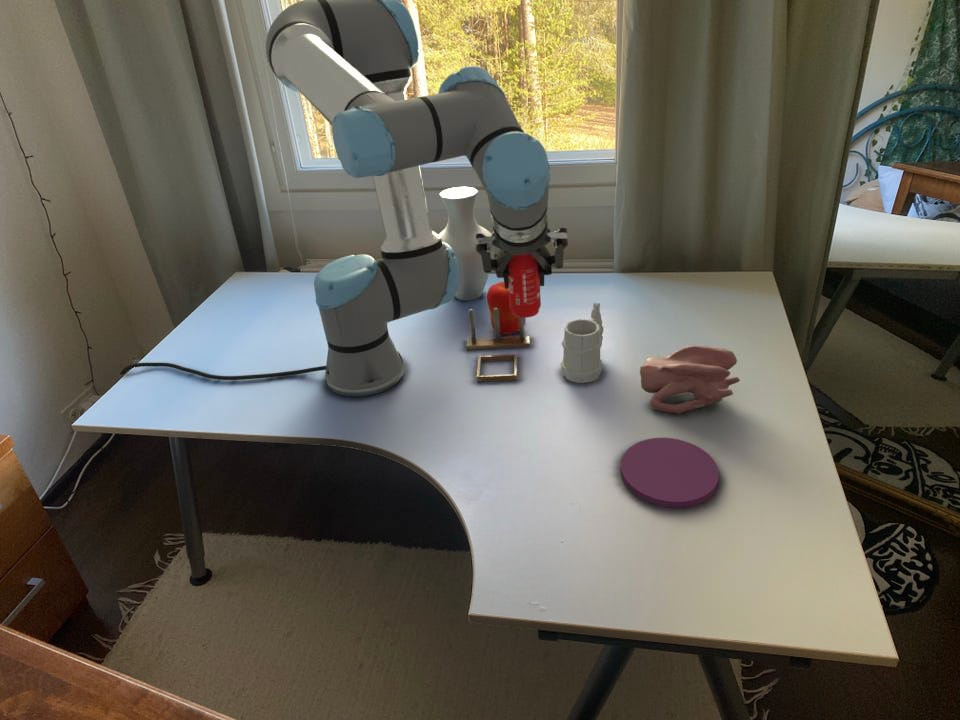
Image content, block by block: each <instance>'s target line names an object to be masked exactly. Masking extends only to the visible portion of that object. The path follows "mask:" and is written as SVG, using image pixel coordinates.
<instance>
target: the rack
mask: <svg viewBox="0 0 960 720" xmlns="http://www.w3.org/2000/svg"><path fill="white" fill-rule="evenodd" d="M493 311H494V324H495V330H494V334H495V335H494V336H495V337H485V338H484V337H483V338H482V337H481V338H477V333H476V321H475V311H474V309H472V308H470V309H469V310H468V319H469V320H468V321H469V329H470V338H467V340H466V350H484V349H485V350H486V349H487V350H488V349H509V348H528V347H529V348H530V347H531V338H530V335H529V336H528V335H526V333H525V325H524V318H521V317H519V329H520V330H519V336H504V337H501V333H500V325H499V311H498V308H494V310H493ZM492 361H494V362H496V361H513V373H510V374H485V375H481V370H482V362H492ZM476 370H477V371H476V382H494V381H495V382H496V381H497V382H498V381H516V380H518V353H515V354H491V355H489V354H488V355H478V358H477V368H476Z"/></svg>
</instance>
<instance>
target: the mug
mask: <svg viewBox="0 0 960 720" xmlns="http://www.w3.org/2000/svg"><path fill="white" fill-rule="evenodd" d="M592 306H593V308H592V309H591V314H590V318H589V319H586V318H585V319H584V318H583V319H582V318H579V319H573V320H571V321H569V322H567V323H566V324H565V326H564V331H563V338H562V340H561V345H562V349H563V355H562V360H561V363H560V368H561V370H562V374H563V377H565V379H566V380H568V381H570V382H573V383H576V384H585V383H591V382H594V381H597V380H598V379H599V377H600V376H601V374H602V373H601V372H602V371H603V367H604V363H603V361H602V359H601V348H602V345H603V340H604V336H603V334H604V326H603V320H602V314H601V310H600V309H601V303H600V302H593V305H592Z"/></svg>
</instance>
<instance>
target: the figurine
mask: <svg viewBox="0 0 960 720" xmlns="http://www.w3.org/2000/svg"><path fill="white" fill-rule="evenodd" d="M737 362H738V359H737V357H736V355H735V353H734V352H733V351H732V350H728V349H726V348H720V347H713V346H709V345H708V346H707V345H688V346H685V347H683V348H680V349H678V350H676V351H674V352H673V353H670V354H669V355H668V356H665V357H659V356H651V357H648V358H646V359H645V361H644V362H643V364H641V366H640V367H639V376H640V384H641V389H642V390H643V391H644V392H646V393H649V394H654V395H653V396H652V397H651V398H650V401H649V407H650V408H652V409H655V410H657V411H658V412H664V413H671V414H672V413H673V414H677V415H678V414H679V415H680V414H682V413H685V412H688V411H691V410H696V409H700V408H702V407H707V406H710V405H712V404H713V403H714V402H716V403H719V402H721V401H723V399H724V398H728V397H730V396H733V394H734V392H733V391H732V389H729V388H730V386H732V385H735V384H737V383H739V382H740V381H741V378H740V377H738V376H731V377H730V375H731V372H730V371H729V370H731V369H732V368H733V367H734V366H736V364H737ZM687 393H688V394H692V396H693V397H694V400H689V401H685V402H681V403H676V404H671V403H667V402H663V401H664V400H667V399H669V398H673V397H675V396H679V395H682V394H687Z"/></svg>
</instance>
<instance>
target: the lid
mask: <svg viewBox="0 0 960 720" xmlns="http://www.w3.org/2000/svg"><path fill="white" fill-rule="evenodd" d="M619 471H620V476H621V477H620V478H621V479H622V481H623V484H624V485H625V486H626V488H627V489H628V490H629V491H630V492H631V493H632V494H633V495H634V496H636V497H637V498H639V499H641V500H643V501H645V502H647V503H649V504H652V505H655V506H659V507H664V508H671V509H682V508H683V509H684V508H690V507H695V506H698V505H700V504H703V503H704V502H706V501H707V500H709V499H710V498H711V497H712V496H713V495H714V494H715V492H716V490H717V488H718V486H719V479H720V472H719V468H718V465H717V463H716V461H715V460H714V458H712V456H711V455H710V454H709V453H708V452H706V451H705V450H704V449H703V448H701V447H700V446H697V445H696V444H694V443H691V442H688V441H685V440H682V439H678V438H672V437H653V438H652V437H651V438H647V439H643V440H640V441H638V442H636V443H634V444H632V445H631V446H630V447H628V448H627V449H626V451H625V452H623V455H622V457H621V460H620V469H619Z"/></svg>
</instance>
